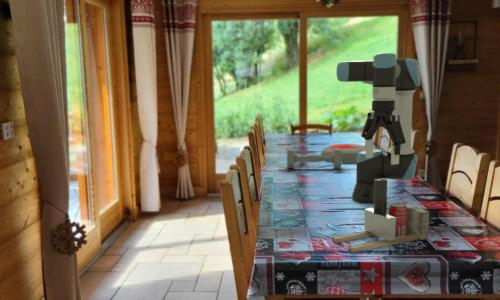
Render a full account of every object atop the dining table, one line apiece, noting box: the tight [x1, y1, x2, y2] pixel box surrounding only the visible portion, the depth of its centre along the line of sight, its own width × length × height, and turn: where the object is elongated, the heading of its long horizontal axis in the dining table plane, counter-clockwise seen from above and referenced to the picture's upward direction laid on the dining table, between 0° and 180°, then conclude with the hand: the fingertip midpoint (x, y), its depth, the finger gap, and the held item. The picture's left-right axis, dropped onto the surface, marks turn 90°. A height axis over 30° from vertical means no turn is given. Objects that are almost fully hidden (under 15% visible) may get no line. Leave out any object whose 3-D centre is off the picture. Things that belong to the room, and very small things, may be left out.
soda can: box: [388, 202, 407, 237], centre depth 167 cm, size 6×6×12 cm
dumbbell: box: [286, 147, 342, 170], centre depth 290 cm, size 13×33×13 cm, turn 84°
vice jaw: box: [364, 178, 396, 241], centre depth 163 cm, size 13×4×20 cm, turn 23°
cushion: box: [320, 143, 366, 164], centre depth 321 cm, size 37×37×10 cm
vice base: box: [331, 201, 430, 253], centre depth 164 cm, size 14×32×10 cm, turn 113°
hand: (381, 160), depth 161 cm, fingers open, 13 cm apart
